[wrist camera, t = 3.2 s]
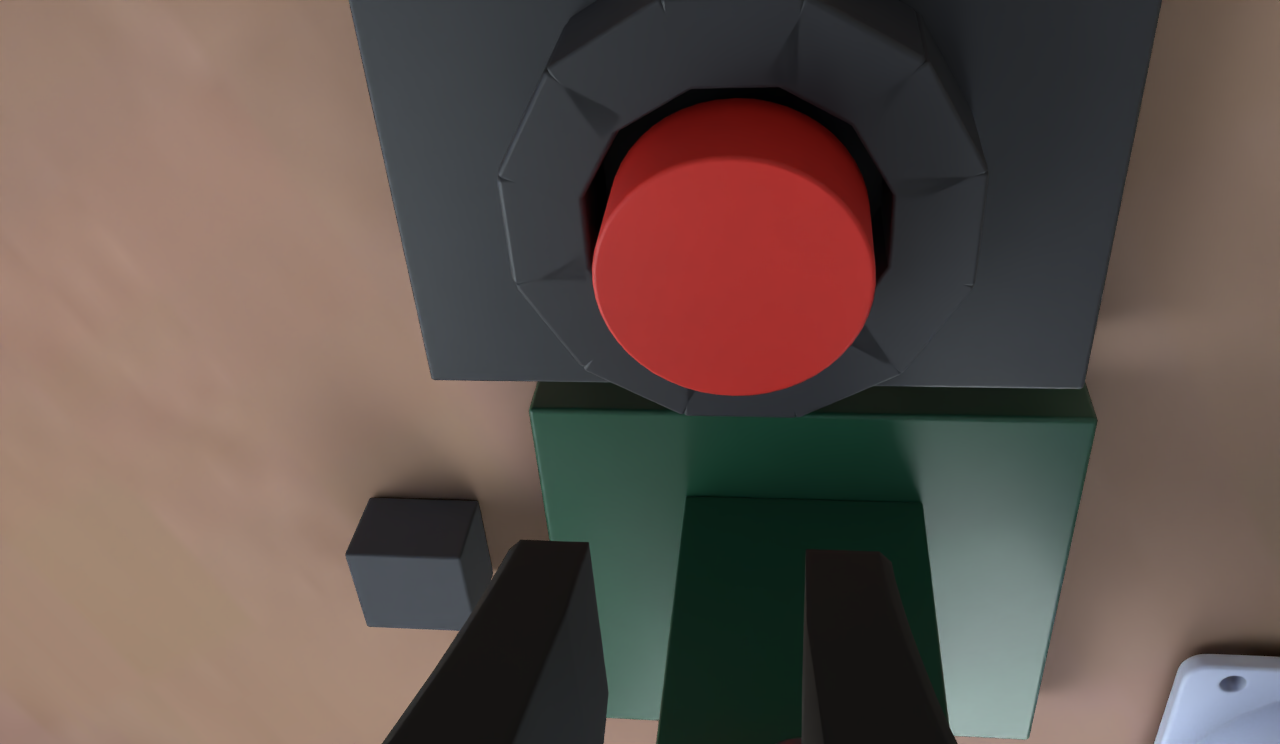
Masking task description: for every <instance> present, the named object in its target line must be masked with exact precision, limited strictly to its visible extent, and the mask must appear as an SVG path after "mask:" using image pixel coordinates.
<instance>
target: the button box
mask: <svg viewBox="0 0 1280 744" xmlns="http://www.w3.org/2000/svg"><path fill="white" fill-rule="evenodd" d="M349 4H350V8H351V13H352V17H353V22H354V27H355V31H356V36H357V40H358V45H359V49H360V54H361V59H362V63H363V68H364V72H365V77H366V81H367V86H368V90H369V95H370V100H371V104H372V109H373V113H374V118H375V122H376V127H377V132H378V136H379V141H380V145H381V150H382V154H383V159H384V163H385V168H386V173H387V177H388V182H389V186H390V191H391V195H392V200H393V204H394V209H395V214H396V218H397V223H398V227H399V232H400V236H401V241H402V246H403V250H404V255H405V259H406V264H407V268H408V273H409V277H410V282H411V287H412V291H413V296H414V300H415V305H416V309H417V314H418V319H419V323H420V328H421V332H422V337H423V341H424V346H425V350H426V355H427V360H428V364H429V369H430V373H431V378H432V379H434V380H472V381H544V382H611V383H613V384H616V385H618V386H620V387H622V388H624V389H626V390H629V391H631V392H633V393H635V394H637V395H640V396H642V397H644V398H646V399H648V400H651V401H653V402H655V403H657V404H659V405H661V406H664V407H666V408H668V409H670V410H672V411H675V412H677V413H679V414H684V413H685V415H687V416H722V417H778V418H794V417H796V416H797V417H802V416H804V415H806V414H809V413H811V412H813V411H816V410H818V409H821V408H823V407H825V406H828V405H830V404H832V403H835V402H837V401H839V400H842V399H844V398H846V397H849V396H851V395H854V394H856V393H858V392H861V391H863V390H865V389H868V388H870V387H872V386H901V387H973V388H1044V389H1081V388H1083V387H1084V384H1085V379H1086V374H1087V369H1088V364H1089V359H1090V354H1091V349H1092V344H1093V339H1094V334H1095V329H1096V324H1097V319H1098V315H1099V310H1100V305H1101V300H1102V295H1103V290H1104V285H1105V280H1106V275H1107V270H1108V265H1109V260H1110V255H1111V250H1112V245H1113V240H1114V236H1115V231H1116V226H1117V221H1118V216H1119V211H1120V206H1121V201H1122V196H1123V191H1124V186H1125V181H1126V176H1127V171H1128V166H1129V162H1130V157H1131V152H1132V147H1133V142H1134V137H1135V132H1136V127H1137V122H1138V117H1139V112H1140V107H1141V102H1142V97H1143V92H1144V87H1145V83H1146V78H1147V73H1148V68H1149V63H1150V58H1151V53H1152V48H1153V43H1154V38H1155V33H1156V28H1157V23H1158V18H1159V13H1160V8H1161V4H1162V0H349ZM729 98H747V99H758V100H764V101H770V102H774V103H777V104H780V105H784V106H787V107H790V108H792V109H794V110H797V111H799V112H801V113H803V114H805V115H807V116H809V117H810V118H812V119H814V120H815V121H817V122H819V123H820V124H822V125H823V126H824V127H825V128H826V129H828V130H829V131H830V132H831V133H833V134H834V135H835V136H836V137H837V138H838V139H839V141H840V142H841V143H842V144H843V145H844V146H845V147H846V148H847V150H848V151H849V153H850V154H851V156H852V157H853V158H854V160H855V162H856V164H857V166H858V168H859V169H860V171H861V173H862V176H863V179H864V182H865V185H866V188H867V192H868V198H869V204H870V214H871V224H872V235H873V245H874V255H875V266H876V286H875V293H874V300H873V303H872V306H871V310H870V313H869V316H868V318H867V320H866V322H865V324H864V326H863V328H862V330H861V331H860V333H859V334H858V336H857V337H856V339H855V340H854V342H853V343H852V344H851V345H850V347H849V348H848V349H847V350H846V351H845V352H844V353H843V354H842V356H840V357H839V358H838V359H837V360H836V361H835V362H833V363H832V364H831V365H830V366H829V367H827V368H826V369H824V370H823V371H821V372H820V373H818V374H817V375H815V376H813V377H811V378H809V379H807V380H805V381H803V382H801V383H799V384H796V385H794V386H791V387H788V388H786V389H782V390H778V391H774V392H770V393H764V394H757V395H746V396H728V395H716V394H710V393H704V392H699V391H695V390H692V389H688V388H685V387H682V386H680V385H677V384H675V383H672V382H670V381H667V380H665V379H664V378H662V377H660V376H658V375H656V374H654V373H653V372H651V371H650V370H648V369H647V368H645V367H644V366H642V365H641V364H640V363H638V362H637V361H636V360H635V359H634V358H633V357H632V356H630V355H629V354H628V353H627V352H626V351H625V350H624V348H623V347H622V346H621V345H620V344H619V343H618V342H617V340H616V339H615V338H614V336H613V335H612V333H611V332H610V330H609V329H608V327H607V325H606V323H605V321H604V319H603V317H602V315H601V313H600V311H599V308H598V305H597V302H596V299H595V294H594V289H593V283H592V262H593V254H594V249H595V246H596V242H597V238H598V235H599V231H600V228H601V224H602V221H603V217H604V213H605V210H606V206H607V203H608V199H609V195H610V192H611V188H612V185H613V181H614V178H615V175H616V173H617V171H618V168H619V166H620V164H621V162H622V161H623V159H624V157H625V156H626V154H627V153H628V151H629V150H630V148H631V147H632V146H633V145H634V144H635V142H636V141H637V140H638V139H639V138H640V137H641V136H642V135H643V134H644V133H645V132H646V131H648V130H649V129H650V128H651V127H652V126H653V125H655V124H656V123H658V122H659V121H661V120H662V119H664V118H665V117H667V116H669V115H671V114H673V113H675V112H677V111H679V110H681V109H684V108H687V107H689V106H692V105H695V104H698V103H702V102H707V101H712V100H717V99H729Z"/></svg>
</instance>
